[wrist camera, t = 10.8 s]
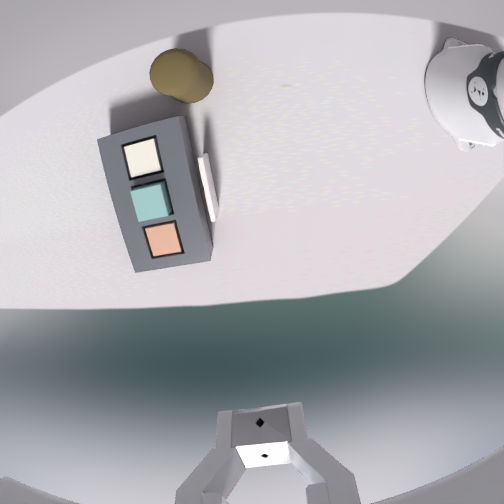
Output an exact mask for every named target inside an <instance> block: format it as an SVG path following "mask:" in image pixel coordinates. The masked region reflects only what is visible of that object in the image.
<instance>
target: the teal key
mask: <svg viewBox="0 0 504 504" xmlns="http://www.w3.org/2000/svg"><path fill="white" fill-rule="evenodd" d="M130 193H131V196H132V200H133V204H134V207H135V211H136V215H137V218H138V222H141V221H146V220H150V219H155V218H160V217H165V216H168V215H169V214H170V213H171V211H172V210H173V206H172V202H171V198H170V194H169V190H168V186H167V182H166V179H165V180H161V181H157V182H152V183H148V184H144V185H140V186H137V187H136V188H134V189H133V190H132V191H130Z"/></svg>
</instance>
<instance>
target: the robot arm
mask: <svg viewBox="0 0 504 504" xmlns="http://www.w3.org/2000/svg"><path fill="white" fill-rule="evenodd" d="M425 88H426V95H427V100H428V103H429V106H430V109H431V111H432V113H433V115H434V117H435V118H436V120H437V121H438V123H439V124H440V125H441V126H442V127H443V128H444V129H445V130H446V131H447V132H448V133H450V134H451V135H452V137H453V138H454V140H455V142H456V144H457V146H458V147H459V149H460V150H461V151H466V152H468V151H471V150H475V149H478V148H481V147H485V146H495V144H498V143H502V142H504V51H493V49H492V48H491V47H485V46H484V45H483V44H472V45H468V44H466V43H464V42H462V41H460V40H457V39H455V38H448V39H447V40H446V42H445V45H444V47H443V50H442V51H441V52H440V53H438V54H437V55H436V56H435V57H434V58H433V59H432V60H431V62H430V64H429V66H428V68H427V72H426V78H425ZM469 142H470V144H469ZM287 408H288V409H287ZM217 421H218V422H217V436H216V448H214V449H211V451H210V452H209V453H208V454H207V456H206V457H205V458H204V459H203V460H202V461H201V463H200V464H199V465H198V466H197V467H196V468H195V470H194V471H193V472H192V473H191V474H190V476H189V477H188V478H187V479H186V480H185V481H184V482H183V484H182V485H181V486H180V487H179V488H178V489H177V491H176V498H175V504H228V502H227V501H226V499H227V498H228V496H229V494H230V493H231V492H232V490H233V489H234V487H235V486H236V484H237V482H238V481H239V479H240V477H241V476H242V474H243V473H244V471H245V470H246V468H249V467H258V466H267V465H277V464H286V463H291V464H292V465H293V466H294V467H295V469H296V470H297V471H298V472H299V473H300V474H301V475H302V476H303V477H304V479H305V480H306V481H307V482H308V483H309V484H310V485H308V487H307V488H306V496H307V504H361V502H360V498H359V494H358V489H357V485H356V481H355V477H354V474H353V473H351V472H350V471H349V470H348V469H347V468H345V467H344V466H343V465H342V464H341V463H339V462H338V461H337V460H336V459H335V458H334V457H333V456H331V455H330V454H329V453H328V452H327V451H326V450H325V449H324V448H322V447H321V446H320V445H319V444H318V443H317V442H316V441H315V440H314V439H312V438H308V437H307V431H306V425H305V420H304V414H303V408H302V403H301V402H296V403H290V404H281V405H275V406H268V407H261V408H255V409H244V410H231V411H219V413H218V420H217ZM0 504H79V503H75V502H73V501H69V500H66V499H63V498H60V497H57V496H54V495H51V494H48V493H45V492H43V491H40V490H37V489H35V488H32V487H30V486H27V485H25V484H23V483H20V482H18V481H16V480H14V479H12V478H9V477H3V478H1V479H0ZM371 504H504V445H503V446H502V447H500V448H498V449H497V450H495V451H494V452H492V453H490V454H488V455H487V456H485V457H483V458H481V459H479V460H477V461H476V462H474V463H472V464H470V465H468V466H466V467H464V468H462V469H460V470H458V471H456V472H454V473H452V474H450V475H448V476H446V477H443V478H441V479H439V480H436V481H434V482H431V483H429V484H427V485H424V486H422V487H419V488H416V489H414V490H411V491H409V492H406V493H403V494H400V495H397V496H394V497H391V498H388V499H385V500H382V501H378V502H375V503H371Z"/></svg>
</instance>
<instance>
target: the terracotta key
mask: <svg viewBox="0 0 504 504" xmlns="http://www.w3.org/2000/svg"><path fill="white" fill-rule="evenodd" d="M145 230H146V233H147V237H148V240H149V243H150V247H151V250H152V253H153V256H158V255H164V254H170V253H176V252H181V251H182V249H183V245H182V241H181V237H180V234H179V230H178V226H177V222H176V220H172V221H167V222H162V223H156V224H151V225H148V226H147V227H146V228H145Z"/></svg>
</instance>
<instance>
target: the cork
mask: <svg viewBox="0 0 504 504" xmlns="http://www.w3.org/2000/svg"><path fill="white" fill-rule="evenodd" d="M150 80H151V82H152V85H153V87H154V88H155V89H156V90H157V91H158V92H160V93H162V94H164V95H169V96H173V97H174V98H175V99H176V100H178V101H180V102H182V103H196V102H198V101H200V100H202V99H204V98H205V97H206V96H207V95H208V94H209V92H210V91H211V89H212V86H213V82H214V81H213V74H212V72H211V70H210V68H209V67H208V66H207V65H206V64H204V63H202V62H199V61H198V59H197V58H196V57H195V56H194V55H193V54H192V53H191V52H189V51H187V50H185V49H178V48H175V49H170V50H167V51H165V52H163V53H161V54H160V55H159V56H157V57H156V58H155V60H154V61H153V63H152V65H151V68H150Z"/></svg>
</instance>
